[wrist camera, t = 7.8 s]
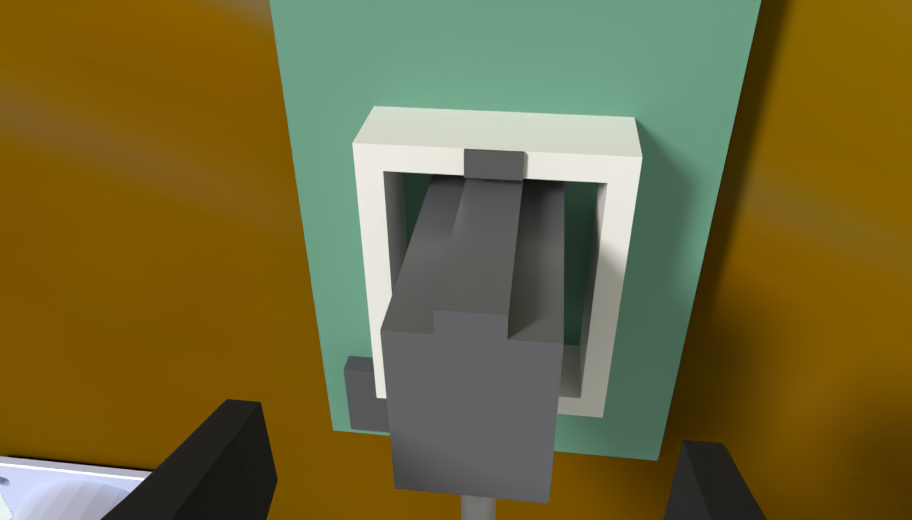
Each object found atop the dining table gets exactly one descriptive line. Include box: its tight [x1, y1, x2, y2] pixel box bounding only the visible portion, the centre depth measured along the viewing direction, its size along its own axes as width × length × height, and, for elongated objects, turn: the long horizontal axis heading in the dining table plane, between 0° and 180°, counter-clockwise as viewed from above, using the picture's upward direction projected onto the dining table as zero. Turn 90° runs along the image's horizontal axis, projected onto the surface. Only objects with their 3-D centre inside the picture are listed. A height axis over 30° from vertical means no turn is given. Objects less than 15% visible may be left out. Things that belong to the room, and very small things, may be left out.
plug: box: [380, 174, 564, 520], centre depth 16 cm, size 8×3×6 cm, turn 1°
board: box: [270, 0, 761, 461], centre depth 18 cm, size 14×10×3 cm
